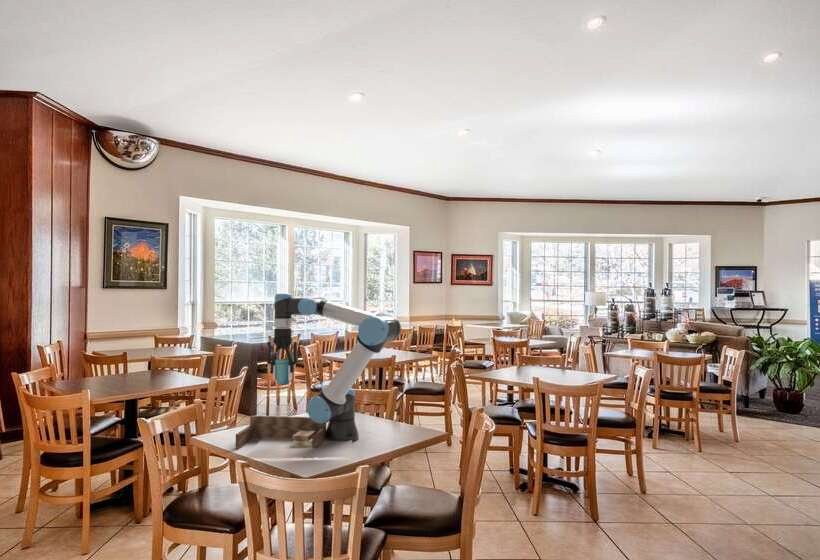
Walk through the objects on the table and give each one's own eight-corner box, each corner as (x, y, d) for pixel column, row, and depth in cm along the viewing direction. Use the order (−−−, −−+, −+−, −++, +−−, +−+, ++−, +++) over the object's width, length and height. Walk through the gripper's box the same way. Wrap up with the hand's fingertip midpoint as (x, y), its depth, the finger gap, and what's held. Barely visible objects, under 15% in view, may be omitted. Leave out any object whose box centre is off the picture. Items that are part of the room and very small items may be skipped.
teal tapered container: (276, 386, 234) (276, 352, 234) (263, 385, 238) (264, 351, 238) (298, 382, 246) (299, 349, 246) (286, 381, 250) (286, 348, 250)
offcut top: (316, 435, 238) (316, 430, 238) (308, 441, 228) (308, 436, 228) (300, 434, 239) (301, 430, 239) (292, 440, 229) (292, 435, 229)
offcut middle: (315, 439, 239) (315, 434, 239) (311, 445, 228) (311, 441, 228) (297, 439, 239) (297, 434, 239) (292, 446, 228) (292, 441, 228)
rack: (326, 439, 242) (326, 417, 242) (316, 451, 225) (316, 426, 225) (251, 437, 245) (251, 415, 245) (235, 448, 228) (235, 424, 228)
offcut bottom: (318, 443, 240) (318, 438, 240) (311, 451, 227) (311, 447, 227) (297, 443, 240) (297, 438, 240) (289, 451, 227) (289, 446, 227)
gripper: (306, 327, 246) (305, 378, 245) (265, 327, 247) (264, 378, 247) (301, 328, 238) (301, 381, 237) (259, 328, 240) (258, 380, 239)
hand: (282, 379), depth 242 cm, fingers closed on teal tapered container, 6 cm apart
